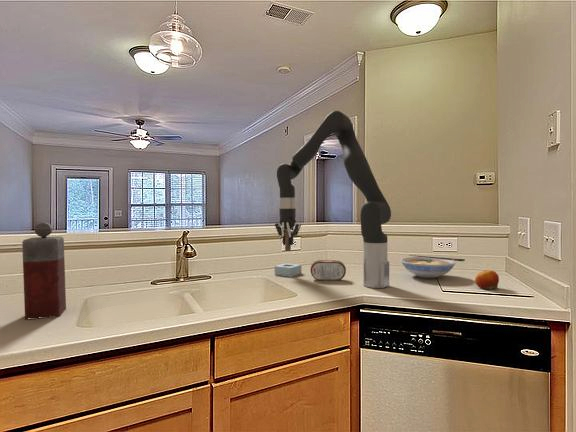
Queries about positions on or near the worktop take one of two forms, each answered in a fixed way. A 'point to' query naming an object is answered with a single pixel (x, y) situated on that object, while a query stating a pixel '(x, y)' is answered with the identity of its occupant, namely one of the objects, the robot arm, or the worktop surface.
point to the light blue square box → (287, 269)
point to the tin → (328, 270)
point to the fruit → (487, 279)
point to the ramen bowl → (429, 265)
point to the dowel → (287, 241)
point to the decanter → (44, 274)
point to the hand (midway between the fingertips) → (287, 244)
